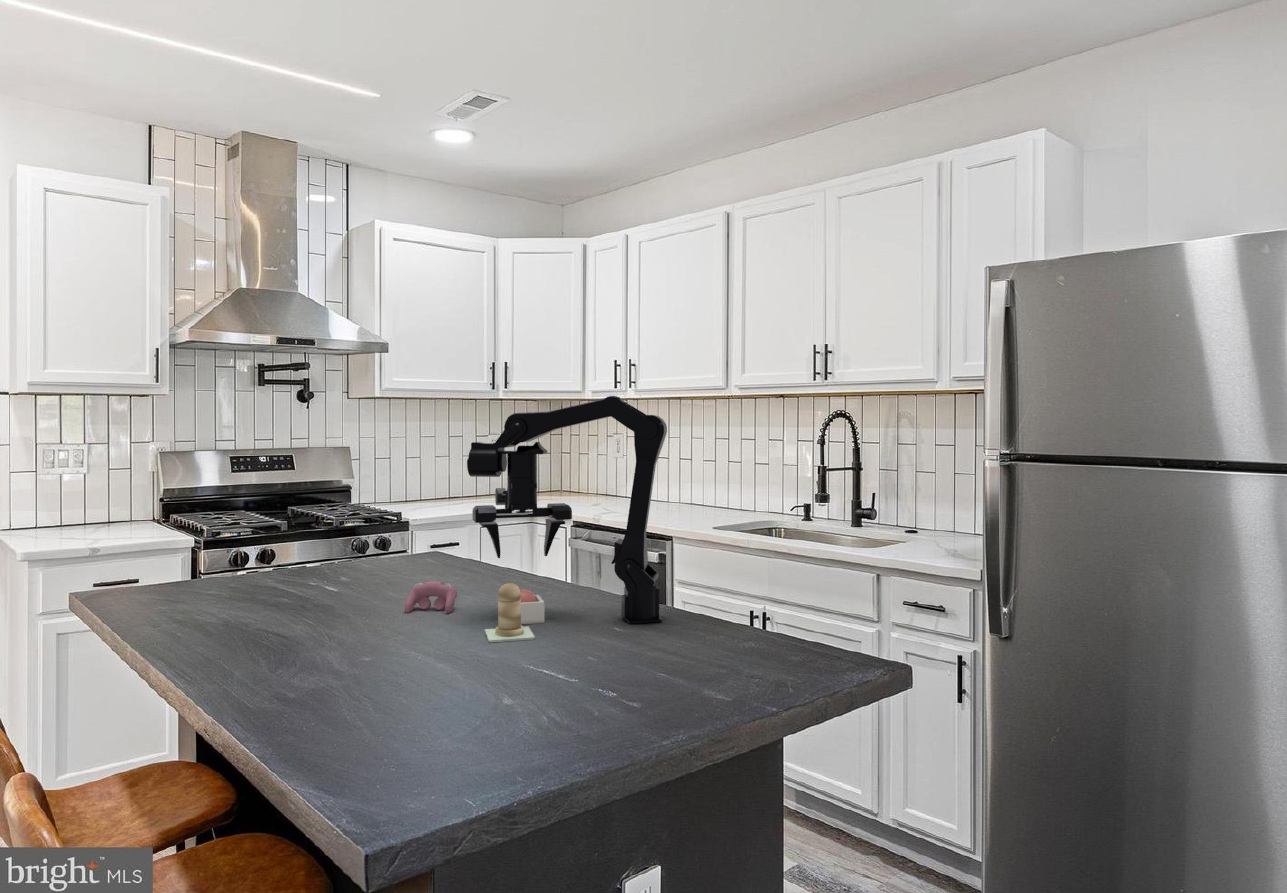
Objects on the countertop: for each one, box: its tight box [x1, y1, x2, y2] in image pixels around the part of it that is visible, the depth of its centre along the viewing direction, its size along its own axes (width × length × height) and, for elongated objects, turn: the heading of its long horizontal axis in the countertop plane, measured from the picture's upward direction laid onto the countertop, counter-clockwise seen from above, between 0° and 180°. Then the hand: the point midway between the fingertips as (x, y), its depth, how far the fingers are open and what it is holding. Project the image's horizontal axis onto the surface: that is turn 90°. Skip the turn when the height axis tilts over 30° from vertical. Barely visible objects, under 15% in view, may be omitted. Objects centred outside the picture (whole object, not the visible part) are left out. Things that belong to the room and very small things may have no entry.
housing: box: [521, 594, 545, 625], centre depth 164 cm, size 7×7×4 cm
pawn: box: [494, 582, 525, 637], centre depth 152 cm, size 5×5×9 cm
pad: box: [484, 626, 536, 643], centre depth 152 cm, size 8×8×1 cm
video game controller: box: [404, 580, 458, 615], centre depth 172 cm, size 10×5×7 cm, turn 85°
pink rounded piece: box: [520, 588, 536, 603], centre depth 164 cm, size 5×5×5 cm
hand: (522, 556), depth 166 cm, fingers open, 9 cm apart
